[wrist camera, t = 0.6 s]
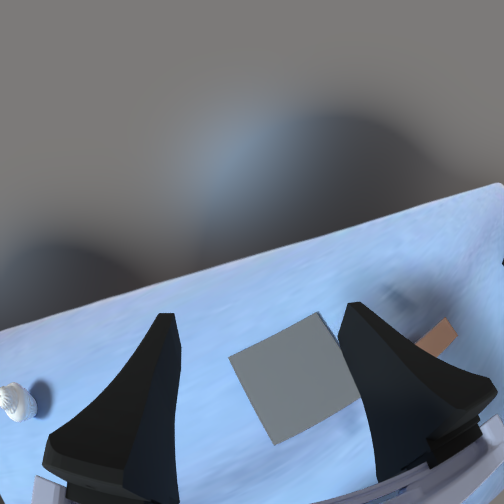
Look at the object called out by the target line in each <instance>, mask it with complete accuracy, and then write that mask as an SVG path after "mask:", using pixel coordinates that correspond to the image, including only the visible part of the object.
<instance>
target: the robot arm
mask: <svg viewBox="0 0 504 504" xmlns="http://www.w3.org/2000/svg"><path fill="white" fill-rule="evenodd" d="M338 340H339V344H340V347H341V351H342V354H343V357H344V359H345V361H346V364H347V366H348V368H349V371H350V373H351V375H352V377H353V380H354V382H355V384H356V387H357V389H358V391H359V393H360V396H361V399H362V401H363V404H364V408H365V412H366V415H367V419H368V423H369V427H370V432H371V436H372V442H373V448H374V455H375V464H376V477H377V480H378V484H375V485H373V486H370V487H367V488H364V489H362V490H359V491H356V492H352V493H349V494H346V495H343V496H339V497H336V498H332V499H328V500H324V501H320V502H316V503H311V504H365V503H367V502H370V501H373V500H375V499H378V498H380V497H383V496H385V495H388V494H390V493H392V492H395V491H397V490H399V489H400V491H399V493H398V495H397V496H396V497H393V498H391V499H389V500H386V501H384V502H381V503H379V504H461V503H462V502H463V501H465V500H466V499H467V498H468V497H469V496H470V495H471V494H472V493H473V492H474V491H475V490H476V489H477V488H478V487H479V486H480V485H481V484H482V483H483V482H484V481H485V480H486V479H487V478H488V477H489V476H490V475H491V474H492V473H493V472H494V471H495V470H496V469H497V468H498V467H499V466H500V465H501V464H502V463H503V462H504V425H503V423H502V421H501V419H500V418H499V416H498V414H495V415H494V416H493V417H492V418H490V419H489V420H488V421H486V422H485V423H484V424H483V425H481V426H480V427H479V426H478V424H477V423H478V422H479V421H480V418H479V416H478V414H479V413H480V412H481V411H482V410H483V409H484V408H485V407H486V406H487V405H488V404H489V403H490V402H491V401H492V400H493V399H494V398H495V397H496V395H497V392H498V391H497V389H496V388H495V386H494V385H493V383H492V381H491V380H490V379H489V378H487V377H483V376H480V375H476V374H473V373H470V372H467V371H465V370H462V369H459V368H457V367H455V366H452V365H450V364H448V363H446V362H444V361H442V360H440V359H438V358H436V357H434V356H433V355H431V354H429V353H428V352H426V351H424V350H423V349H421V348H420V347H418V346H417V345H415V344H414V343H412V342H411V341H410V340H408V339H407V338H405V337H404V336H403V335H401V334H400V333H399V332H397V331H396V330H395V329H394V328H392V327H391V326H390V325H389V324H387V323H386V322H385V321H384V320H382V319H381V318H380V317H379V316H378V315H376V314H375V313H374V312H373V311H371V310H370V309H369V308H368V307H366V306H365V305H364V304H362V303H361V302H353V303H348V304H347V308H346V311H345V314H344V317H343V321H342V324H341V327H340V330H339V333H338ZM180 372H181V343H180V339H179V334H178V329H177V324H176V320H175V314H174V313H159V314H158V315H157V317H156V319H155V320H154V322H153V324H152V325H151V327H150V329H149V330H148V332H147V334H146V335H145V337H144V338H143V340H142V342H141V343H140V345H139V346H138V348H137V349H136V351H135V352H134V354H133V355H132V356H131V358H130V359H129V360H128V362H127V363H126V364H125V366H124V367H123V368H122V370H121V371H120V372H119V373H118V375H117V376H116V377H115V378H114V380H113V381H112V382H111V383H110V384H109V385H108V386H107V387H106V388H105V389H104V391H103V392H102V393H101V394H100V395H99V396H98V397H97V398H96V399H95V400H94V401H93V402H91V403H90V404H89V405H88V406H87V407H86V408H85V409H83V410H82V411H81V412H80V413H79V414H78V415H76V416H75V417H74V418H73V419H71V420H70V421H69V422H67V423H66V424H64V425H63V426H61V427H60V428H59V429H57V430H56V431H54V432H53V433H51V434H49V437H48V440H47V443H46V447H45V452H44V457H43V462H42V465H43V467H44V468H45V469H46V470H48V471H49V472H51V473H53V474H54V475H56V476H58V477H59V478H61V479H63V480H65V481H67V487H64V486H62V485H60V484H57V483H55V482H52V481H49V480H47V479H45V478H42V477H40V476H38V475H36V476H35V480H34V487H33V494H32V502H31V504H179V503H180V500H179V492H178V484H177V474H176V461H175V411H176V403H177V395H178V387H179V379H180ZM401 488H402V489H401Z"/></svg>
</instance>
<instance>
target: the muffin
mask: <svg viewBox="0 0 504 504" xmlns="http://www.w3.org/2000/svg"><path fill="white" fill-rule="evenodd" d="M0 406H1V408H2V409H4V410H5V411H6V413H7V415H8V416H9V417H10V418H11V419H12V420H14V421H16V422H22V421H26V420H28V419H30V418H32V417H34V416H35V415H36V414H37V404H36V401H35V399H34V398H33V397H32V396H31V395H30V393H29V392H28V391H27V390H26V389H25V388H23V387H22V386H21V385H20V384H18V383H15V382H13V383H10V384H9V385H7V386H2V387H0Z"/></svg>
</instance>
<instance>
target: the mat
mask: <svg viewBox="0 0 504 504" xmlns="http://www.w3.org/2000/svg"><path fill="white" fill-rule="evenodd" d="M228 358H229V360H230V363H231V365H232V367H233V369H234V371H235V373H236V375H237V377H238V379H239V381H240V383H241V385H242V387H243V389H244V391H245V393H246V395H247V397H248V399H249V400H250V402H251V404H252V406H253V408H254V410H255V412H256V414H257V416H258V417H259V419H260V421H261V423H262V425H263V427H264V428H265V430H266V432H267V434H268V436H269V437H270V439H271V441H272V443H273V444H274V445H276V444H279V443H281V442H283V441H285V440H287V439H289V438H291V437H293V436H295V435H297V434H299V433H301V432H303V431H305V430H307V429H309V428H310V427H312V426H314V425H316V424H318V423H319V422H321V421H323V420H325V419H326V418H328V417H330V416H332V415H333V414H335V413H337V412H338V411H340V410H341V409H343V408H345V407H346V406H348V405H349V404H351V403H352V402H354V401H356V400H357V399H359V398H360V397H361V396H360V393H359V391H358V389H357V387H356V384H355V382H354V380H353V377H352V375H351V373H350V371H349V368H348V366H347V364H346V361H345V359H344V357H343V354H342V351H341V349H340V348H339V346H338V345H337V343H336V342H335V340H334V339H333V337H332V335H331V334H330V332H329V331H328V329H327V328H326V326H325V325H324V323H323V322H322V320H321V319H320V317H319V316H318V314H317V313H314V314H312V315H310V316H308V317H307V318H305V319H303V320H301V321H299V322H297V323H296V324H294V325H292V326H290V327H288V328H286V329H284V330H282V331H281V332H279V333H277V334H275V335H273V336H271V337H269V338H267V339H265V340H263V341H261V342H259V343H257V344H255V345H253V346H251V347H249V348H247V349H245V350H243V351H241V352H238V353H236V354H234V355H232V356H230V357H228Z"/></svg>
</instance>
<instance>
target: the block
mask: <svg viewBox="0 0 504 504" xmlns="http://www.w3.org/2000/svg"><path fill="white" fill-rule="evenodd" d="M457 336H458V335H457V333H456V332H455V330H454V329H453V327H452V326H451V325H450V323H449V322H448V320H447V319H446V317H445V318H444V319H442V320H441V321H440V322H439V323H438V324H437V325H436V326H434V327H433V328H432V329H431V330H430V331H428V332H427V333H426V334H425V335H423V336H422V337H421V338H420V339H419V340H418V341H416V342H415V343H414V344H415V345H417V346H418V347H420V348H421V349H423V350H424V351H426V352H428V353H429V354H431V355H433V356H434V357H436V358H437V357H438V356H439V355H440V354H441V353H442V352H443V351H444V350H445V349H446V348H447V347H448V346H449V345H450V343H451V342H452V341H453V340H454V339H455V338H456V337H457Z"/></svg>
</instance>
